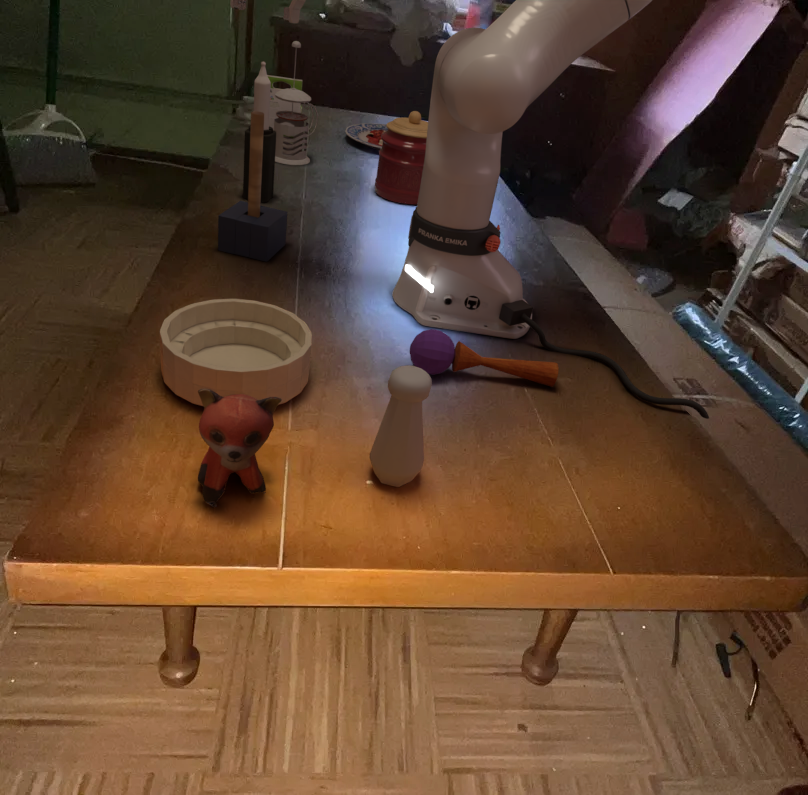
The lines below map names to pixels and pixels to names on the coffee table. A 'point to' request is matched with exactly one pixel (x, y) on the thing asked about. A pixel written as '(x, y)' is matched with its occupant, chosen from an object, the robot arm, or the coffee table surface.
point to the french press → (285, 150)
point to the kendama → (472, 359)
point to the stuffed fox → (233, 440)
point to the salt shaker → (402, 428)
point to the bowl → (235, 350)
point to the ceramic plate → (367, 134)
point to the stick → (255, 163)
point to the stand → (252, 231)
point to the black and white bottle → (269, 139)
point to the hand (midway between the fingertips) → (264, 15)
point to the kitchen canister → (402, 159)
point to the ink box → (280, 104)
